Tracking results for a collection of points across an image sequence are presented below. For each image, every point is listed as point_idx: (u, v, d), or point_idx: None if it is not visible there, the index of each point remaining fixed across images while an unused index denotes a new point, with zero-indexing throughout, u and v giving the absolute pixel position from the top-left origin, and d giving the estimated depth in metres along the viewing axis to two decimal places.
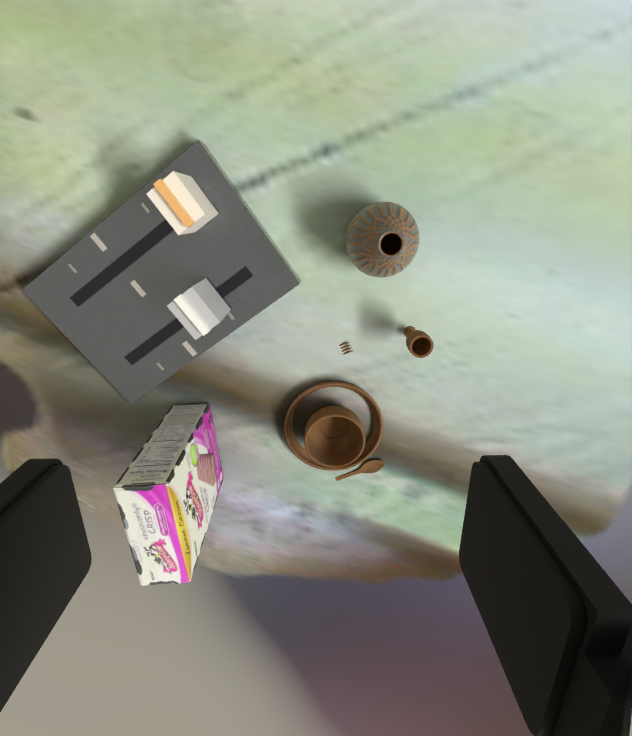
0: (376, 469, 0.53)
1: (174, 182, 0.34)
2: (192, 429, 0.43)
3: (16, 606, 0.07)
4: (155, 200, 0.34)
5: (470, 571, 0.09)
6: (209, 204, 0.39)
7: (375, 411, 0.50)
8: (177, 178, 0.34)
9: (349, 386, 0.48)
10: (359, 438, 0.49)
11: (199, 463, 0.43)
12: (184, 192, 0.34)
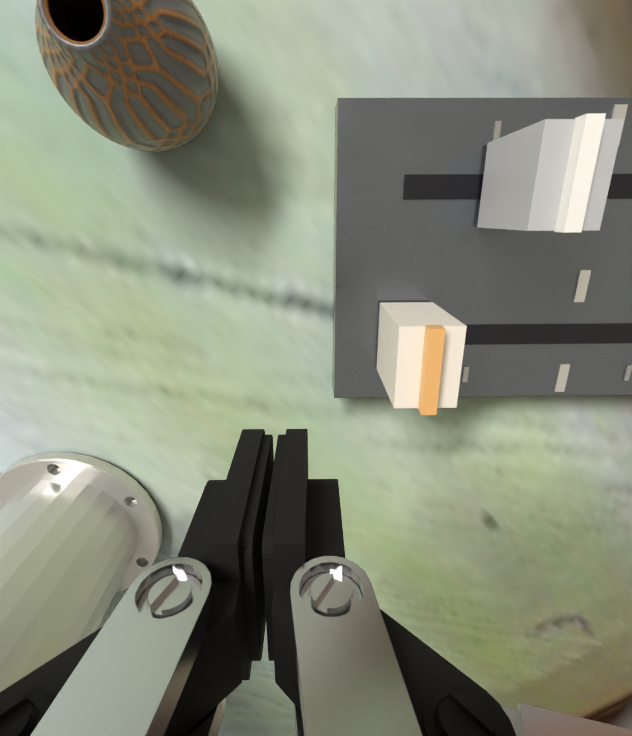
0: None
1: (405, 394, 0.19)
2: None
3: None
4: (453, 391, 0.19)
5: None
6: (382, 324, 0.23)
7: None
8: (396, 396, 0.19)
9: None
10: None
11: None
12: (403, 373, 0.19)
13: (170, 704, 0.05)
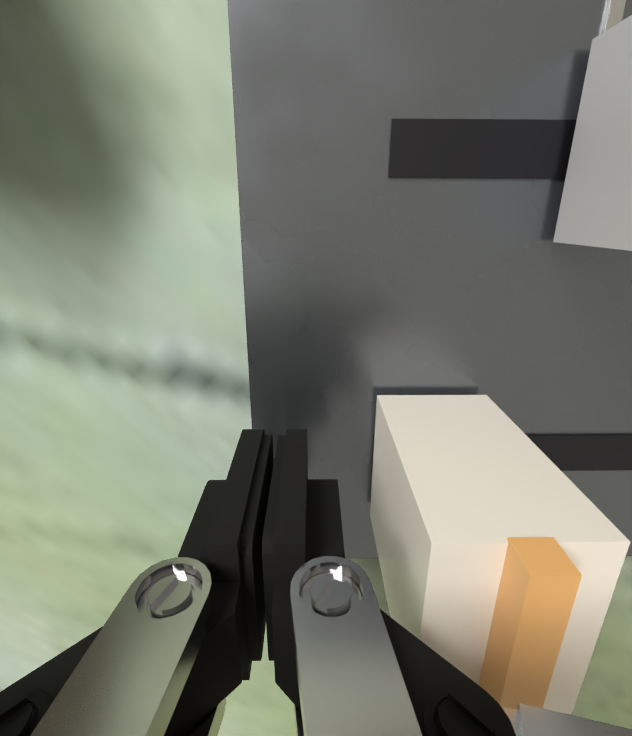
0: None
1: None
2: None
3: None
4: (570, 683, 0.07)
5: None
6: (381, 448, 0.11)
7: None
8: None
9: None
10: None
11: None
12: (438, 647, 0.07)
13: (170, 704, 0.05)
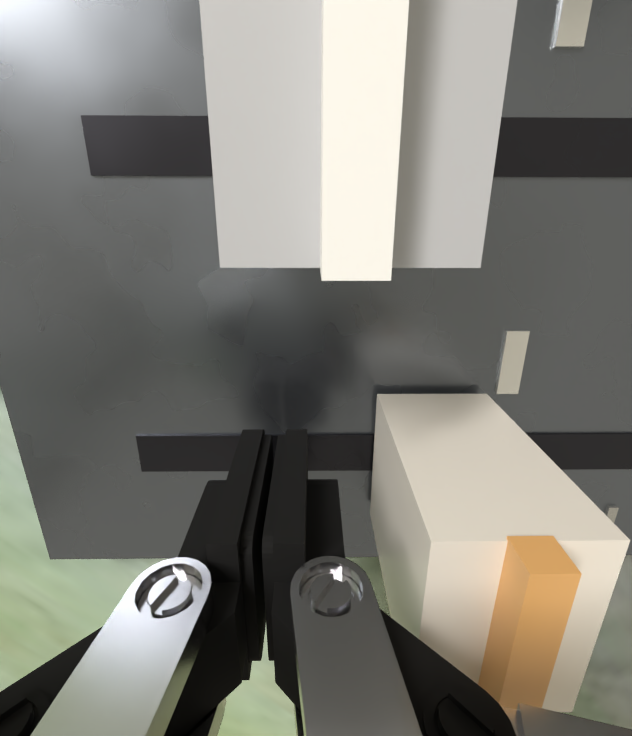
0: None
1: None
2: None
3: None
4: (569, 682, 0.07)
5: None
6: (381, 447, 0.11)
7: None
8: None
9: None
10: None
11: None
12: (437, 646, 0.07)
13: (170, 704, 0.05)
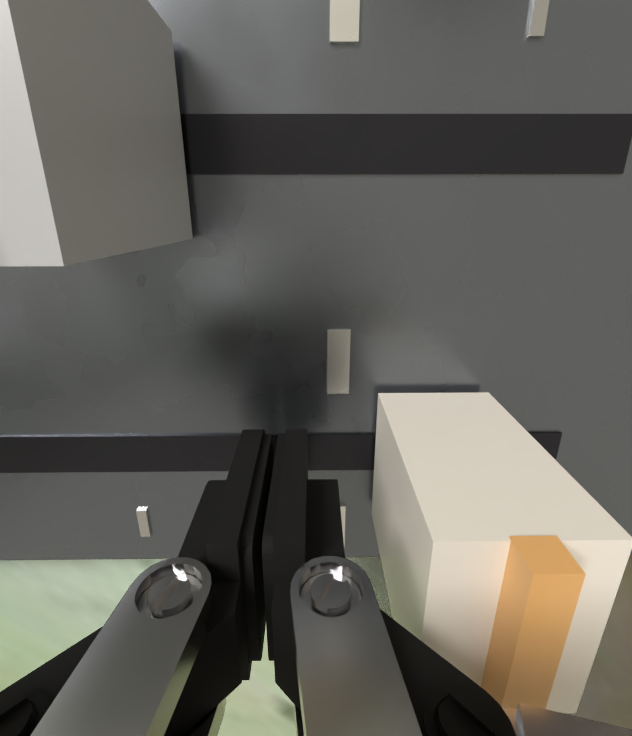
0: None
1: None
2: None
3: None
4: (572, 682, 0.07)
5: None
6: (382, 446, 0.10)
7: None
8: None
9: None
10: None
11: None
12: (440, 646, 0.07)
13: (170, 704, 0.05)
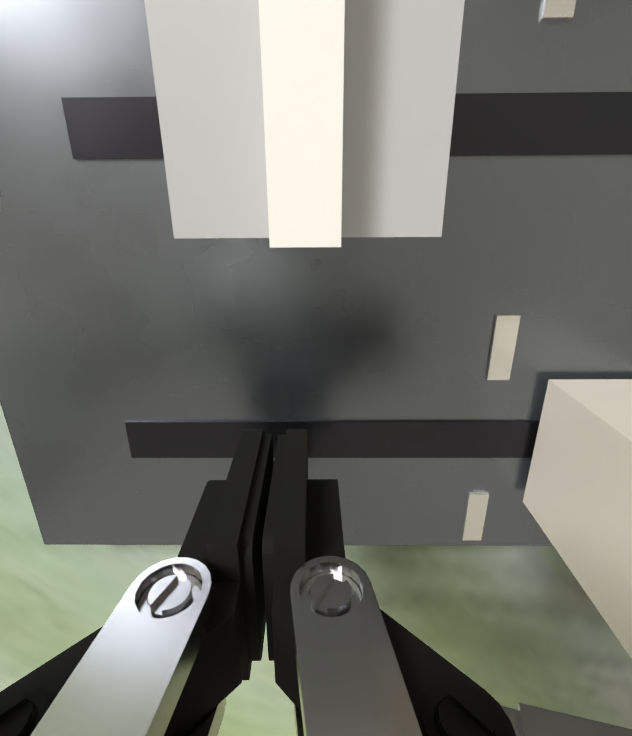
0: None
1: None
2: None
3: None
4: None
5: None
6: (563, 432, 0.10)
7: None
8: None
9: None
10: None
11: None
12: None
13: (170, 704, 0.05)
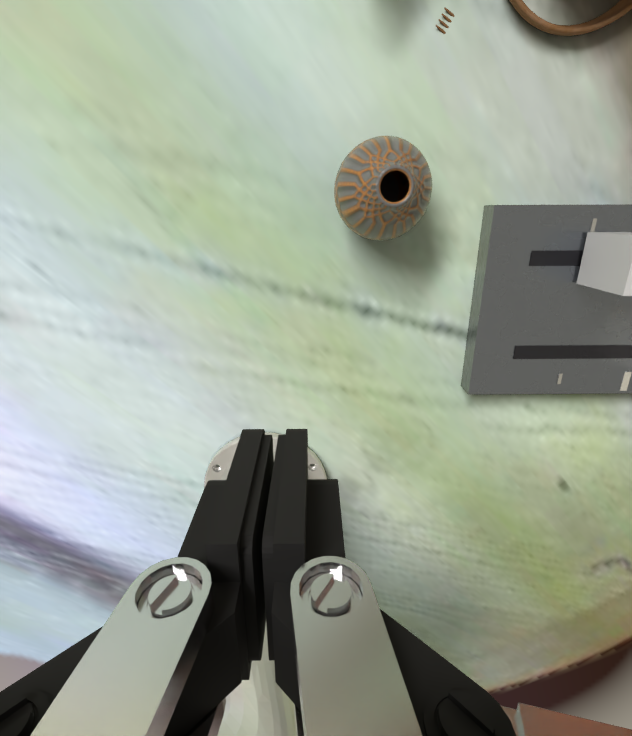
0: None
1: None
2: None
3: None
4: None
5: None
6: None
7: None
8: None
9: None
10: None
11: None
12: None
13: (170, 704, 0.05)
